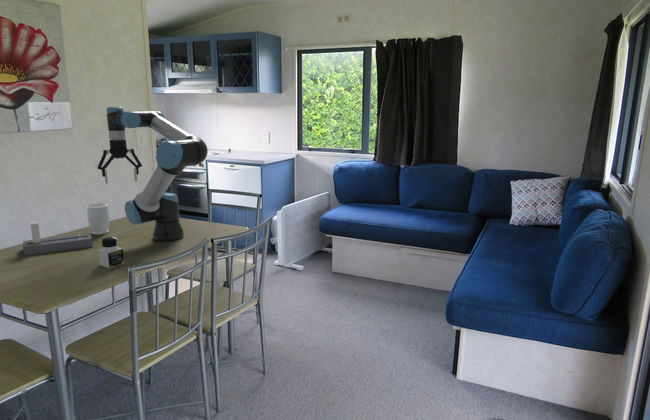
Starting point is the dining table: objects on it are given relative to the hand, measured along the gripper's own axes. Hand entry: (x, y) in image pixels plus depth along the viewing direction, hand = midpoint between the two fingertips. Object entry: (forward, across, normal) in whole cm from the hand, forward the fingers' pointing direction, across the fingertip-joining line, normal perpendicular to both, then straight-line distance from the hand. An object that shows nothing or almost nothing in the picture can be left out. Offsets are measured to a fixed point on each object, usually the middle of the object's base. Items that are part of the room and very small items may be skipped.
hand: (121, 182), depth 235 cm
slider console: (+29, +30, +3) cm, 42 cm away
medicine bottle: (+29, +12, +40) cm, 51 cm away
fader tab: (+26, +39, +3) cm, 47 cm away
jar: (+29, +11, -16) cm, 34 cm away
